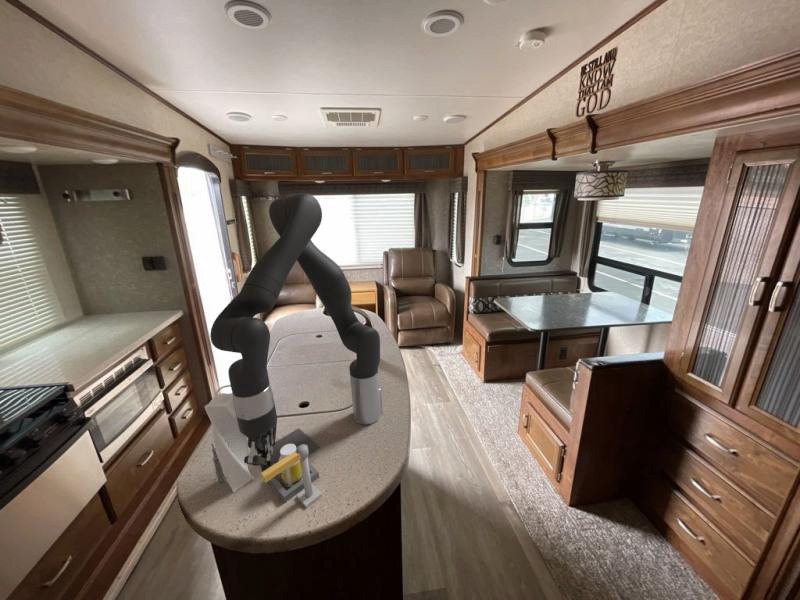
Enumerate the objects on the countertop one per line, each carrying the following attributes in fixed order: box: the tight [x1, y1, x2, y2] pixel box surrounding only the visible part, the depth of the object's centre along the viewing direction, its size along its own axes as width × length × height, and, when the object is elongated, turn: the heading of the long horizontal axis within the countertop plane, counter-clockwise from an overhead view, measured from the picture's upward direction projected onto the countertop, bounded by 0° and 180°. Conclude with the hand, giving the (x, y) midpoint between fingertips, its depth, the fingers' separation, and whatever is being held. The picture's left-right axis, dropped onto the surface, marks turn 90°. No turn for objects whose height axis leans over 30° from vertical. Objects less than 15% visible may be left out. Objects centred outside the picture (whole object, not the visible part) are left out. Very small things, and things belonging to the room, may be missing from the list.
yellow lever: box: [260, 444, 309, 483], centre depth 71 cm, size 11×3×2 cm, turn 138°
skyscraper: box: [204, 384, 255, 498], centre depth 79 cm, size 8×8×28 cm
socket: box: [268, 456, 323, 509], centre depth 79 cm, size 10×15×13 cm, turn 47°
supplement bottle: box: [279, 444, 303, 488], centre depth 82 cm, size 5×5×10 cm
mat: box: [272, 428, 321, 464], centre depth 93 cm, size 12×12×1 cm
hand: (268, 470), depth 71 cm, fingers closed
